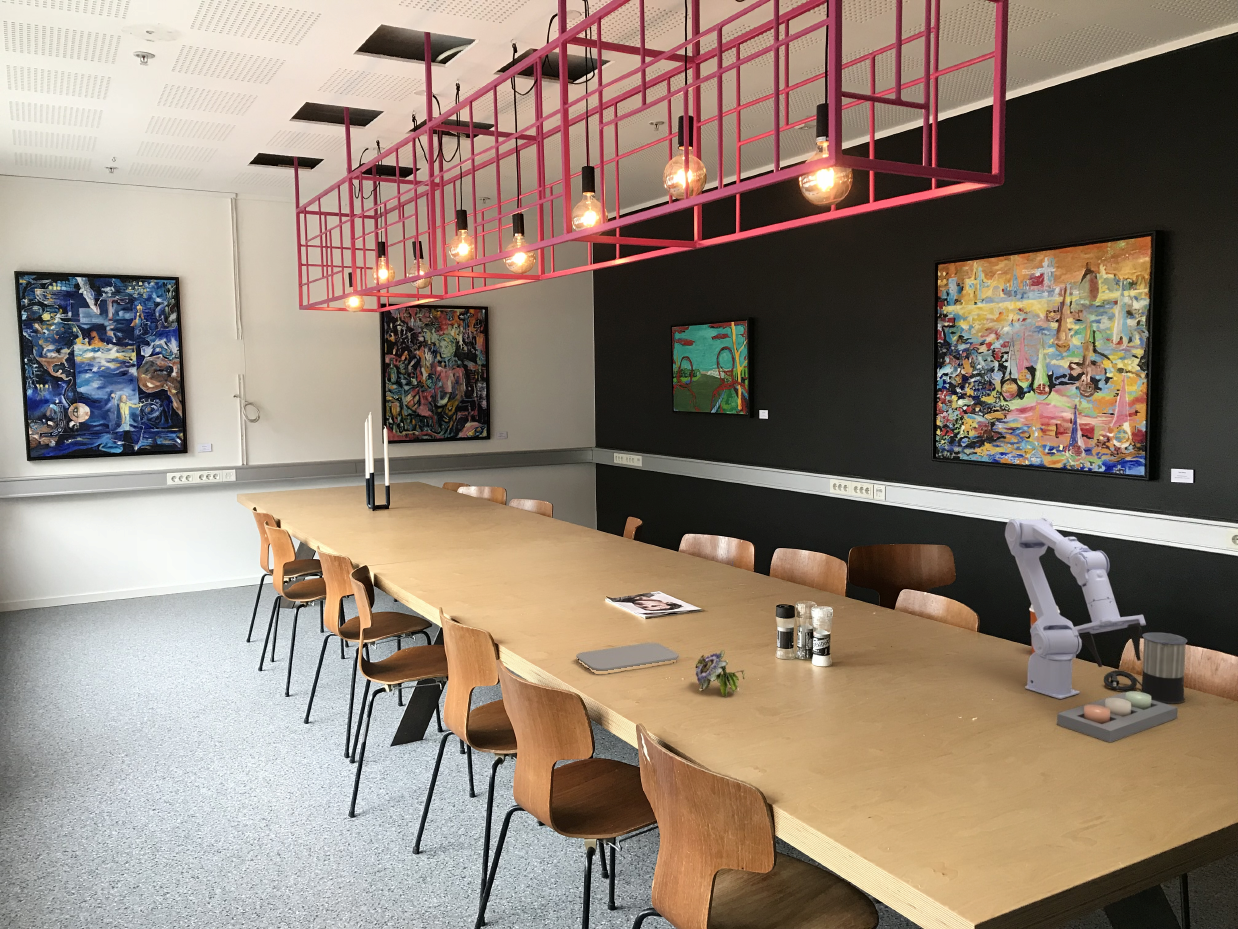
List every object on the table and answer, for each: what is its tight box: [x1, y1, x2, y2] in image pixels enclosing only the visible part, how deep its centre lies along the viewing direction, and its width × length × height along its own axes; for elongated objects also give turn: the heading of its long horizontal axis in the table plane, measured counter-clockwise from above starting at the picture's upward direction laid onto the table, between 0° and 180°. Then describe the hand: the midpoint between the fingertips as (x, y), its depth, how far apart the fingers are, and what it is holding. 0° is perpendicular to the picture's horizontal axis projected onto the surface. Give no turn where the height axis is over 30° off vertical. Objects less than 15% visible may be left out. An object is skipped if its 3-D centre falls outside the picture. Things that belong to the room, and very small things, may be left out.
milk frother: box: [1103, 632, 1188, 705], centre depth 217 cm, size 14×16×15 cm
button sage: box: [1125, 690, 1151, 710], centre depth 204 cm, size 5×5×3 cm
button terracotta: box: [1084, 704, 1110, 724], centre depth 196 cm, size 5×5×3 cm
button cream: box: [1105, 697, 1131, 717], centre depth 200 cm, size 5×5×3 cm
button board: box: [1056, 691, 1179, 743], centre depth 200 cm, size 12×26×2 cm, turn 121°
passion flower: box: [695, 649, 746, 697], centre depth 224 cm, size 11×11×12 cm
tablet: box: [575, 642, 680, 671], centre depth 248 cm, size 16×26×2 cm, turn 115°
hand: (1119, 663), depth 195 cm, fingers open, 7 cm apart
